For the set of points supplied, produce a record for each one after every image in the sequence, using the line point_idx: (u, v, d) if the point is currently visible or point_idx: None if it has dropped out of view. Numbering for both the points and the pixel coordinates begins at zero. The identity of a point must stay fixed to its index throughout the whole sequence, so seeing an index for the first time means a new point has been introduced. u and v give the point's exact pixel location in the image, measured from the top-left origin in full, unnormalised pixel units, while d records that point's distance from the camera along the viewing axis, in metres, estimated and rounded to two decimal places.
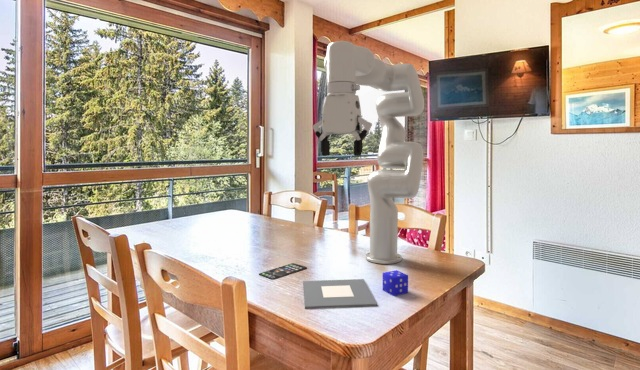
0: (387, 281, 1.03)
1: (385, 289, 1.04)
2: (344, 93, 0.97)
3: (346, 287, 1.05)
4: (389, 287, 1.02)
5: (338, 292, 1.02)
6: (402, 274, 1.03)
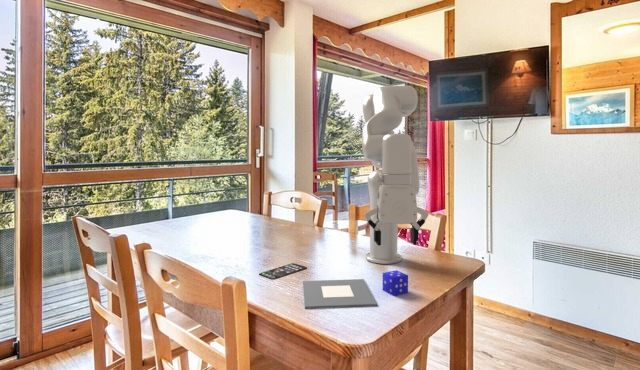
0: (387, 281, 1.03)
1: (385, 289, 1.04)
2: None
3: (346, 287, 1.05)
4: (389, 287, 1.02)
5: (338, 292, 1.02)
6: (402, 274, 1.03)
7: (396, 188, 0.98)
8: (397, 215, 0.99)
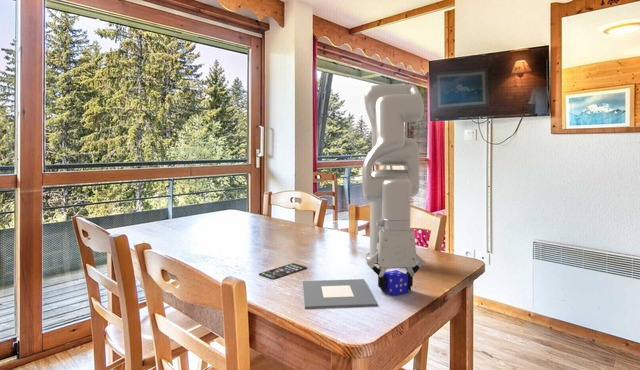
0: (387, 281, 1.03)
1: (385, 289, 1.04)
2: None
3: (346, 287, 1.05)
4: (389, 287, 1.02)
5: (338, 292, 1.02)
6: (402, 274, 1.03)
7: (396, 233, 1.00)
8: (396, 260, 1.00)
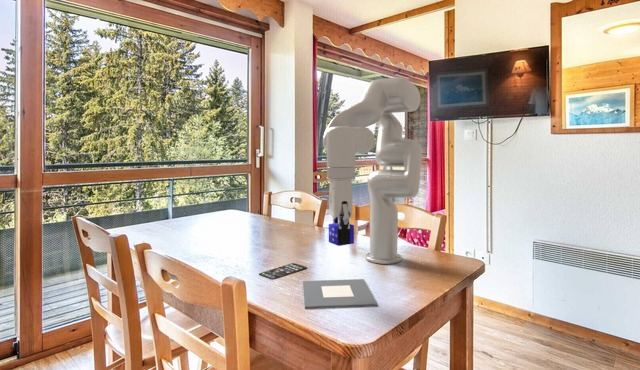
0: None
1: None
2: None
3: (346, 287, 1.05)
4: None
5: (338, 292, 1.02)
6: None
7: (330, 180, 1.00)
8: (330, 207, 1.01)
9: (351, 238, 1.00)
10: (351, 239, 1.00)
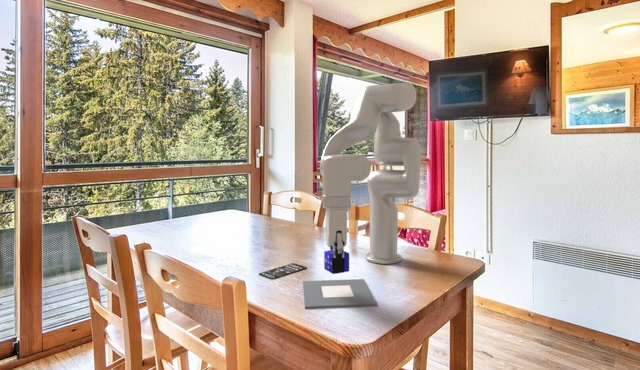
0: None
1: None
2: None
3: (346, 287, 1.05)
4: None
5: (338, 292, 1.02)
6: None
7: (326, 208, 1.01)
8: None
9: (346, 266, 1.00)
10: (346, 267, 1.00)
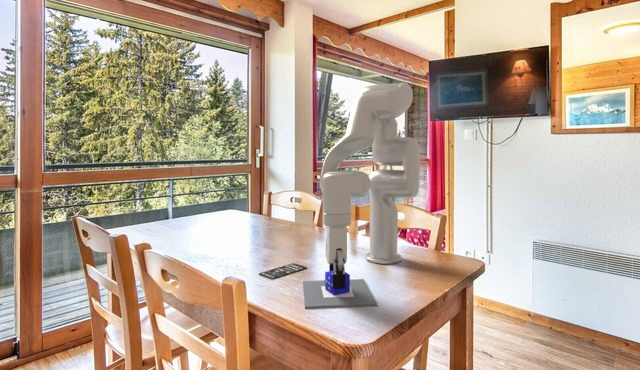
0: None
1: None
2: None
3: None
4: None
5: None
6: None
7: (326, 225, 1.01)
8: (326, 251, 1.02)
9: (347, 287, 1.01)
10: (347, 288, 1.01)
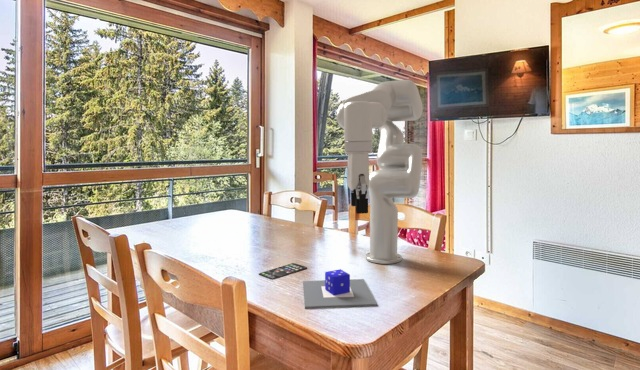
0: None
1: None
2: None
3: None
4: None
5: None
6: (335, 275, 1.01)
7: (348, 154, 1.04)
8: (348, 180, 1.05)
9: (347, 287, 1.01)
10: (347, 288, 1.01)
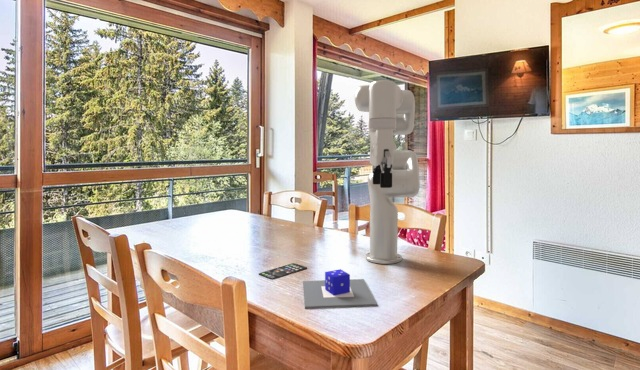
0: None
1: None
2: None
3: None
4: None
5: None
6: (335, 275, 1.01)
7: (372, 132, 1.08)
8: (371, 157, 1.09)
9: (347, 287, 1.01)
10: (347, 288, 1.01)
